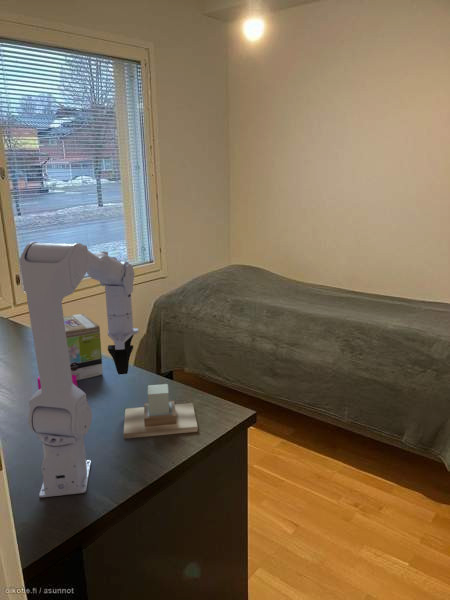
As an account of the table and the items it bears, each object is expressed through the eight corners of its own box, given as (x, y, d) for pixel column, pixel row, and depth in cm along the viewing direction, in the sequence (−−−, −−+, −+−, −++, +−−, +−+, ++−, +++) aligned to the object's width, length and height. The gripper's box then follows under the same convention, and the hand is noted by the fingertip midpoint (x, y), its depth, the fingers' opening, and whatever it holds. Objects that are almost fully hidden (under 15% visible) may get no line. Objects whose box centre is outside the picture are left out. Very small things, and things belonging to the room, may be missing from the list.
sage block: (169, 413, 105) (168, 392, 104) (148, 414, 104) (147, 394, 103) (168, 403, 109) (167, 383, 108) (149, 405, 109) (147, 385, 107)
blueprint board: (197, 431, 104) (197, 418, 103) (123, 438, 101) (122, 424, 100) (192, 407, 114) (192, 395, 113) (125, 413, 112) (124, 400, 111)
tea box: (104, 374, 132) (100, 325, 128) (68, 383, 127) (63, 332, 123) (88, 357, 145) (84, 311, 141) (54, 364, 139) (49, 317, 135)
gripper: (136, 321, 102) (140, 378, 106) (137, 303, 116) (140, 354, 120) (103, 323, 101) (108, 380, 105) (108, 304, 115) (112, 356, 118)
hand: (123, 366), depth 112 cm, fingers open, 7 cm apart
